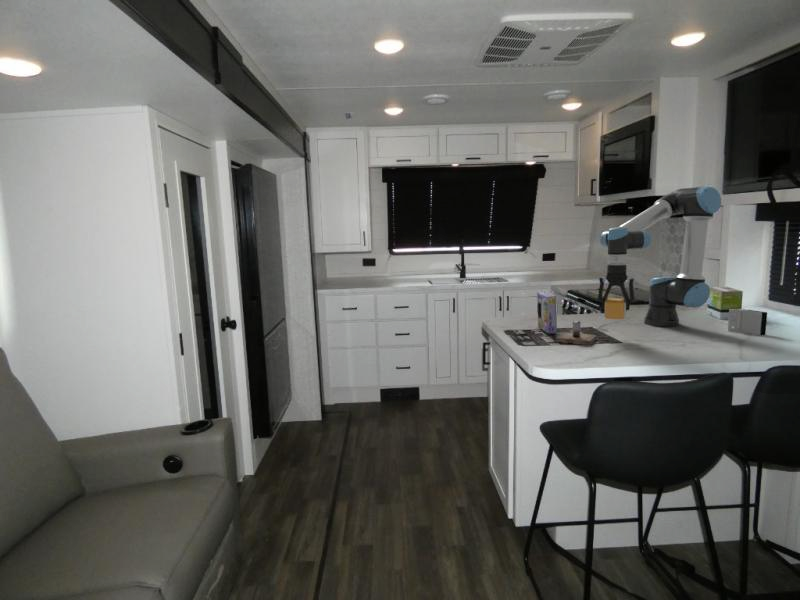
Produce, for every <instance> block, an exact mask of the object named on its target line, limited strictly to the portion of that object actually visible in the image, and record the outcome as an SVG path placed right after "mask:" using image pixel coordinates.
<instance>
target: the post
mask: <svg viewBox="0 0 800 600" xmlns="http://www.w3.org/2000/svg"><path fill="white" fill-rule="evenodd" d="M572 333H573V337H580V334H581V321H580V320H573V321H572Z"/></svg>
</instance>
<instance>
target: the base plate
mask: <svg viewBox="0 0 800 600" xmlns="http://www.w3.org/2000/svg"><path fill="white" fill-rule="evenodd" d="M595 340H596V341H597V334H586V333H580V337H573V332H569V331H568V332H565V331H563V332H562V333H560V334H559V335H558V336H555V342H556V343H559V342H562V343H561V344H568V343H573V344H572V345H578V344H583V345H582V346H587V345H590V346H591V345H592V344H594V343H595V342H596V341H595ZM594 341H595V342H594Z"/></svg>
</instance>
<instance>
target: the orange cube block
mask: <svg viewBox="0 0 800 600" xmlns="http://www.w3.org/2000/svg"><path fill="white" fill-rule="evenodd" d="M625 302H626V301H625V298H624V297H622V298H621V297H607V299H606V305H605V309H604V315H605V317H604V319H610V320H620V321H621V320H622V321H623V320H624V319H625V318H624V303H625Z"/></svg>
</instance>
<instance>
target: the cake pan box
mask: <svg viewBox="0 0 800 600" xmlns="http://www.w3.org/2000/svg"><path fill="white" fill-rule="evenodd" d="M536 294H537V295H536V296H537V297H536V298H537V301H536V302H537V305H536V306H537V309H536V310H537V311H536V312H537V327H538V328H540V329H541V330H542V331H544V332H545V333H546V334H557V331H558V330H557V329H558V328H557V327H558V325H557V324H558V323H557V321H558V320H557V296H556V295H554V294H552V293H551V292H548V291H545V290H544V291H538V292H537V293H536Z"/></svg>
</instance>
